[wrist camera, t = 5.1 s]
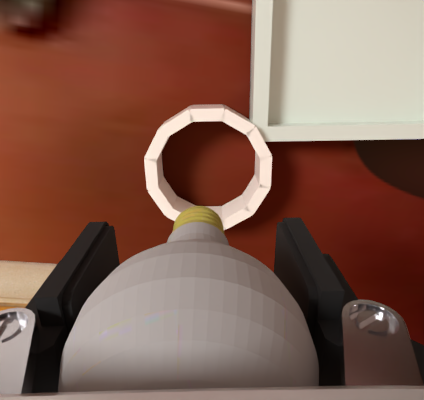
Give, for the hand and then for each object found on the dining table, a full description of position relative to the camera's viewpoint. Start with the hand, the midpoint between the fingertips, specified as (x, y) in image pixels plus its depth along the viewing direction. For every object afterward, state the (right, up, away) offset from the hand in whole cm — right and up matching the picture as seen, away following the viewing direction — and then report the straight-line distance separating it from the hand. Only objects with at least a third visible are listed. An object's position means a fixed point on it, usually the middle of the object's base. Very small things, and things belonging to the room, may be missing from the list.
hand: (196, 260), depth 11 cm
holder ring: (0, +5, +14) cm, 15 cm away
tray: (+10, +13, +10) cm, 20 cm away
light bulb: (0, +1, +3) cm, 3 cm away
